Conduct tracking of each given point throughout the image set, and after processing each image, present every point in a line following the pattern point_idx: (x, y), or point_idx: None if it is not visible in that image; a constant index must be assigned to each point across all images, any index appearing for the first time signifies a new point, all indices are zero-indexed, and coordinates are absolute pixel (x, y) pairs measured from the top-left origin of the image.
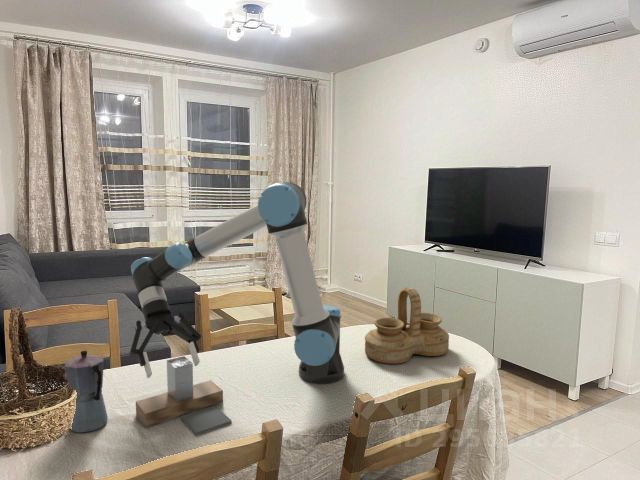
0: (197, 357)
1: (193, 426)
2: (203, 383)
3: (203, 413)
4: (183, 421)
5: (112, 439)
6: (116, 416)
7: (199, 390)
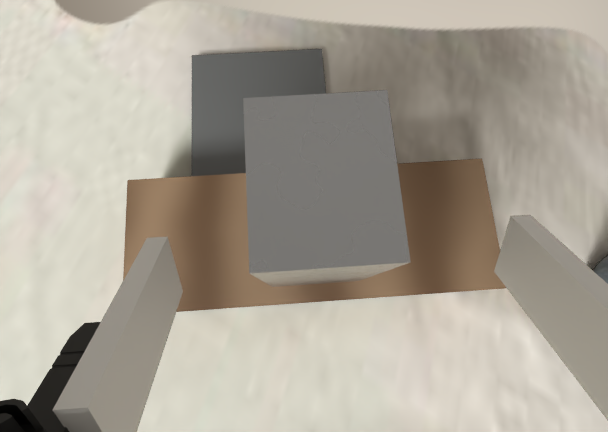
0: (142, 259)
1: (315, 86)
2: None
3: None
4: None
5: (563, 169)
6: None
7: (218, 235)
